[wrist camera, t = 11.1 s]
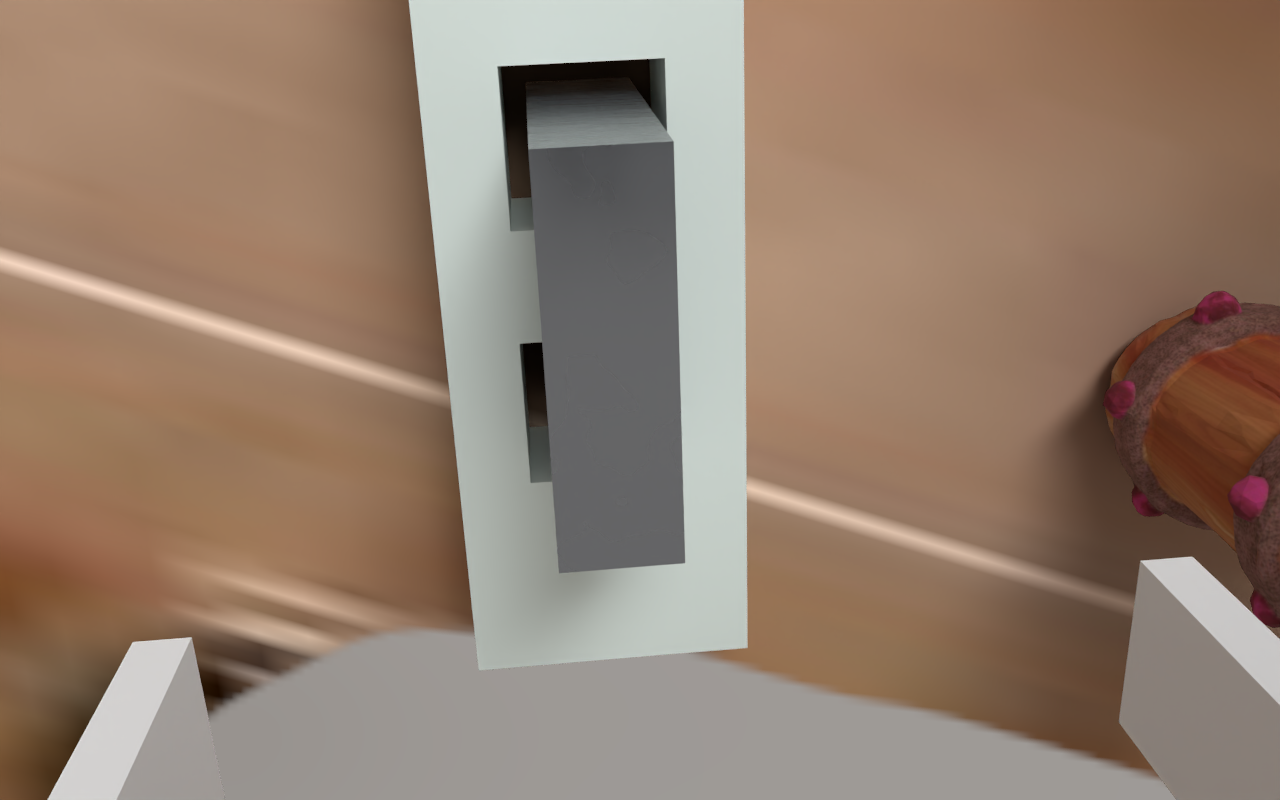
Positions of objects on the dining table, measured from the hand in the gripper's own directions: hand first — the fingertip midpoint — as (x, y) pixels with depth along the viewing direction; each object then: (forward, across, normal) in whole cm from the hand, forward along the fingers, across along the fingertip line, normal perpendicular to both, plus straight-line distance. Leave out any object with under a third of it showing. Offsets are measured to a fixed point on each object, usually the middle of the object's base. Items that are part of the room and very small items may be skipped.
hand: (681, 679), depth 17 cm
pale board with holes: (+24, 0, 0) cm, 25 cm away
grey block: (+24, 0, 0) cm, 25 cm away
